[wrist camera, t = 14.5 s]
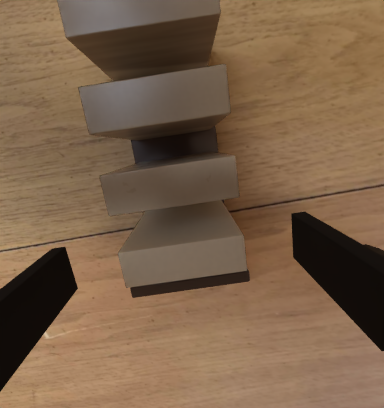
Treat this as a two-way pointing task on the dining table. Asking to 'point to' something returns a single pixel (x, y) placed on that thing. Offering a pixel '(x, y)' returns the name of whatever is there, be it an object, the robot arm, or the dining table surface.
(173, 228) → the cream book
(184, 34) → the cream rack
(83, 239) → the dining table surface
